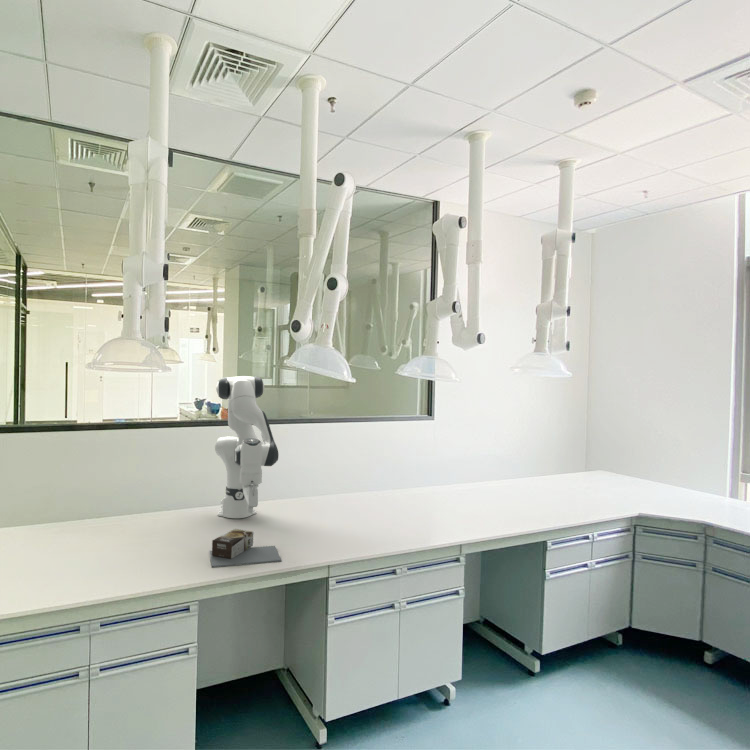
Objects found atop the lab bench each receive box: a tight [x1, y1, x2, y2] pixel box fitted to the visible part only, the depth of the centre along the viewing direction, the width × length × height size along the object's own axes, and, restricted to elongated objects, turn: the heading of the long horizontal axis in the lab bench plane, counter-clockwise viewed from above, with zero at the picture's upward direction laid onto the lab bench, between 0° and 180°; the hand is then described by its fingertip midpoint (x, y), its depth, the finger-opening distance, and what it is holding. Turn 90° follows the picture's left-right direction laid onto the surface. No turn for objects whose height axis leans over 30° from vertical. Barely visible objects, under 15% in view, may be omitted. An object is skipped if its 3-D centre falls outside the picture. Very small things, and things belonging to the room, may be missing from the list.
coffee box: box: [211, 528, 255, 559], centre depth 208 cm, size 9×6×16 cm
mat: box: [209, 545, 282, 568], centre depth 204 cm, size 16×26×1 cm, turn 110°
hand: (249, 511), depth 213 cm, fingers closed
